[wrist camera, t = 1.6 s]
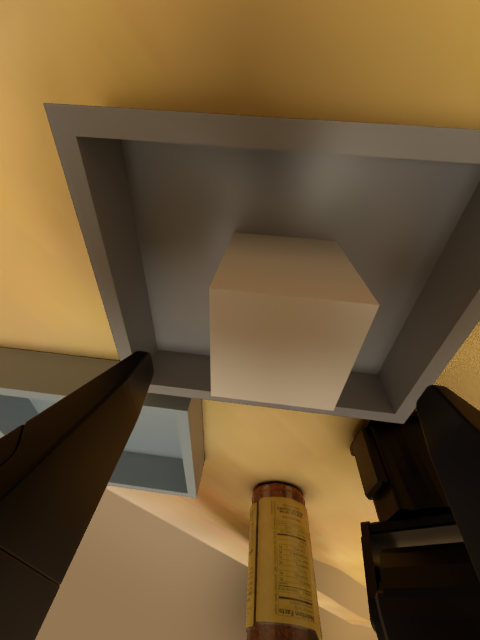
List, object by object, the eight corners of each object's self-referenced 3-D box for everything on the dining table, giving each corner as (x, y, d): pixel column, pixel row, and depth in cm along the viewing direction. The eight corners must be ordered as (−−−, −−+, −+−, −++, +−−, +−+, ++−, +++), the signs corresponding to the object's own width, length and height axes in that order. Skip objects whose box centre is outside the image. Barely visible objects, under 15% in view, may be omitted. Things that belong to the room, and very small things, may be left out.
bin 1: (200, 370, 19) (187, 411, 16) (204, 459, 27) (196, 498, 24) (-5, 346, 20) (-53, 381, 17) (56, 439, 28) (31, 474, 25)
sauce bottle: (277, 507, 32) (283, 880, 16) (240, 488, 30) (204, 892, 14) (318, 494, 29) (380, 944, 13) (281, 473, 27) (294, 971, 11)
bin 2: (512, 140, 10) (613, 138, 7) (381, 377, 18) (403, 423, 15) (105, 114, 11) (43, 102, 8) (151, 351, 19) (129, 390, 16)
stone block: (336, 241, 12) (379, 305, 7) (313, 324, 15) (333, 410, 10) (233, 232, 12) (208, 288, 8) (230, 315, 15) (210, 395, 10)
